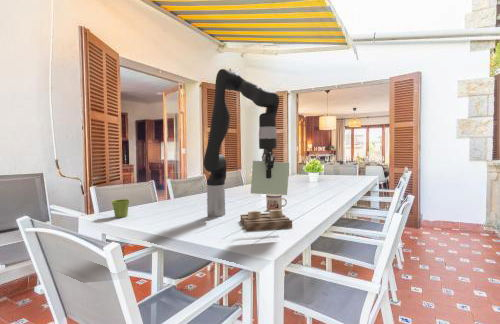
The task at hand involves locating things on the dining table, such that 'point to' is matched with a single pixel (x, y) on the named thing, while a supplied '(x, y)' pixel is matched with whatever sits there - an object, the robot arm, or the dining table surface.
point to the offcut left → (254, 214)
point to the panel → (269, 185)
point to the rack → (266, 222)
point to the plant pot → (120, 207)
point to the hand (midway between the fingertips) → (268, 178)
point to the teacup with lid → (274, 202)
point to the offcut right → (275, 213)
